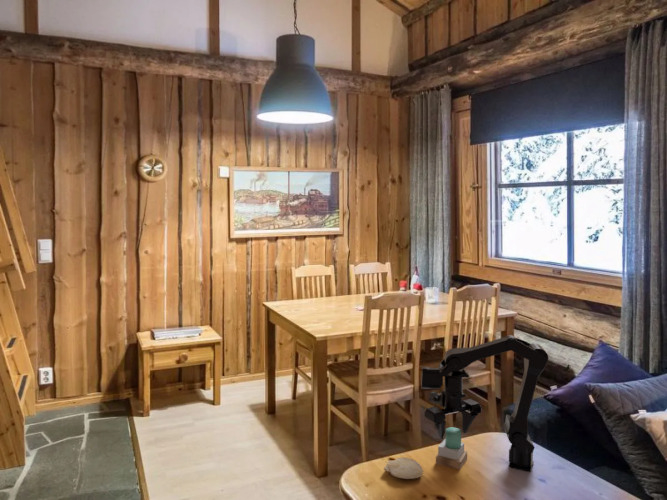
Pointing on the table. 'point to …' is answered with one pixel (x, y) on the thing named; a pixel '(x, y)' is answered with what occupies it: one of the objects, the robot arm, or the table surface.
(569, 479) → the table surface
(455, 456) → the grey block
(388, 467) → the seashell
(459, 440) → the teal cylinder
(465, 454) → the walnut base
